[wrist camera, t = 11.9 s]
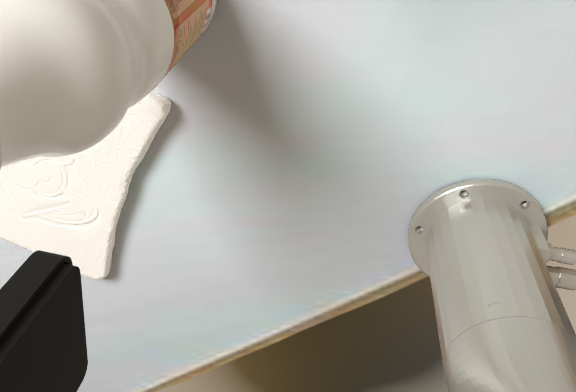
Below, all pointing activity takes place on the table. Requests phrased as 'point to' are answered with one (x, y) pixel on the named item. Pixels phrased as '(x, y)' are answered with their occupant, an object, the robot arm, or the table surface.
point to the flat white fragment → (79, 192)
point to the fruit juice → (84, 67)
